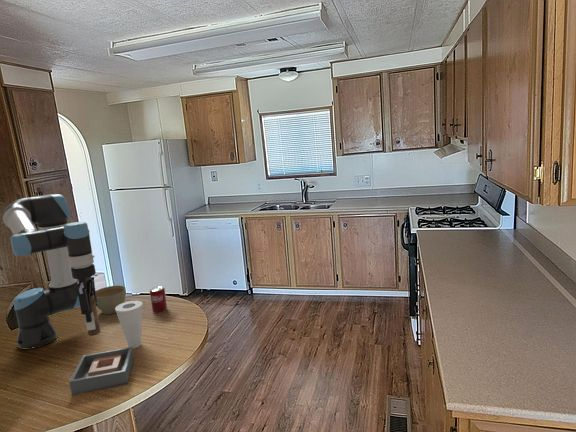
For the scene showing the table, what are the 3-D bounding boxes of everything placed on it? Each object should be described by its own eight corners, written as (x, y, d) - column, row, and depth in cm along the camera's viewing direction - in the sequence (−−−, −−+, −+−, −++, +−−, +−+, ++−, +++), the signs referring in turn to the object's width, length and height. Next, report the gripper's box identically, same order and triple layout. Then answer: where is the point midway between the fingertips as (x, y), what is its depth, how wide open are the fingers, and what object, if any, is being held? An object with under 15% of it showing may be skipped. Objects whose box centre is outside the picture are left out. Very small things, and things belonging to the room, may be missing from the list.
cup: (122, 354, 160) (116, 313, 156) (120, 343, 169) (114, 304, 166) (149, 347, 164) (144, 306, 161) (146, 336, 174) (140, 298, 170)
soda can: (162, 314, 197) (159, 291, 194) (149, 313, 198) (146, 291, 196) (169, 308, 204) (167, 286, 201) (157, 307, 205) (154, 286, 203)
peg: (86, 336, 142) (80, 300, 139) (89, 331, 146) (83, 296, 143) (98, 334, 143) (92, 298, 140) (101, 329, 146) (95, 294, 144)
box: (71, 394, 135) (69, 381, 134) (85, 367, 152) (82, 355, 151) (127, 384, 139) (125, 371, 138) (134, 358, 156) (132, 346, 155)
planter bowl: (101, 306, 213) (98, 287, 211) (132, 302, 214) (129, 284, 212) (89, 318, 197) (86, 298, 195) (123, 315, 199) (119, 295, 197)
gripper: (87, 271, 132) (98, 335, 136) (99, 257, 148) (109, 315, 153) (63, 274, 130) (75, 339, 135) (78, 260, 147) (88, 318, 151)
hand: (93, 326), depth 144 cm, fingers closed on peg, 4 cm apart
